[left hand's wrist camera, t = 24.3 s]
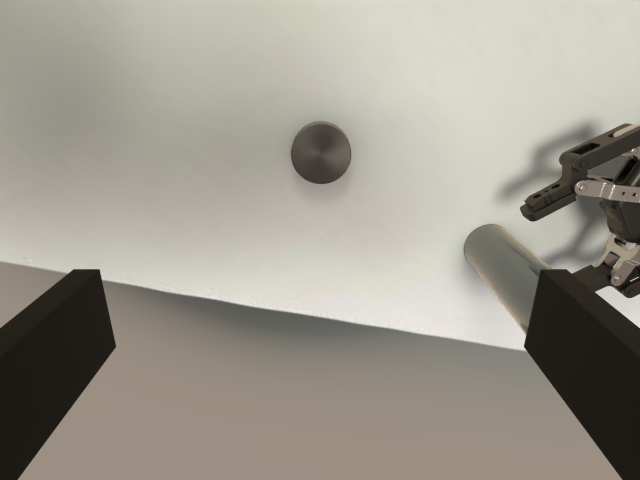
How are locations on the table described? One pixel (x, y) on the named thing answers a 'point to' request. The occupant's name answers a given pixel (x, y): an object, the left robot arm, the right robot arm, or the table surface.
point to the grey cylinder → (506, 269)
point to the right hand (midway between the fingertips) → (542, 255)
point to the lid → (321, 152)
